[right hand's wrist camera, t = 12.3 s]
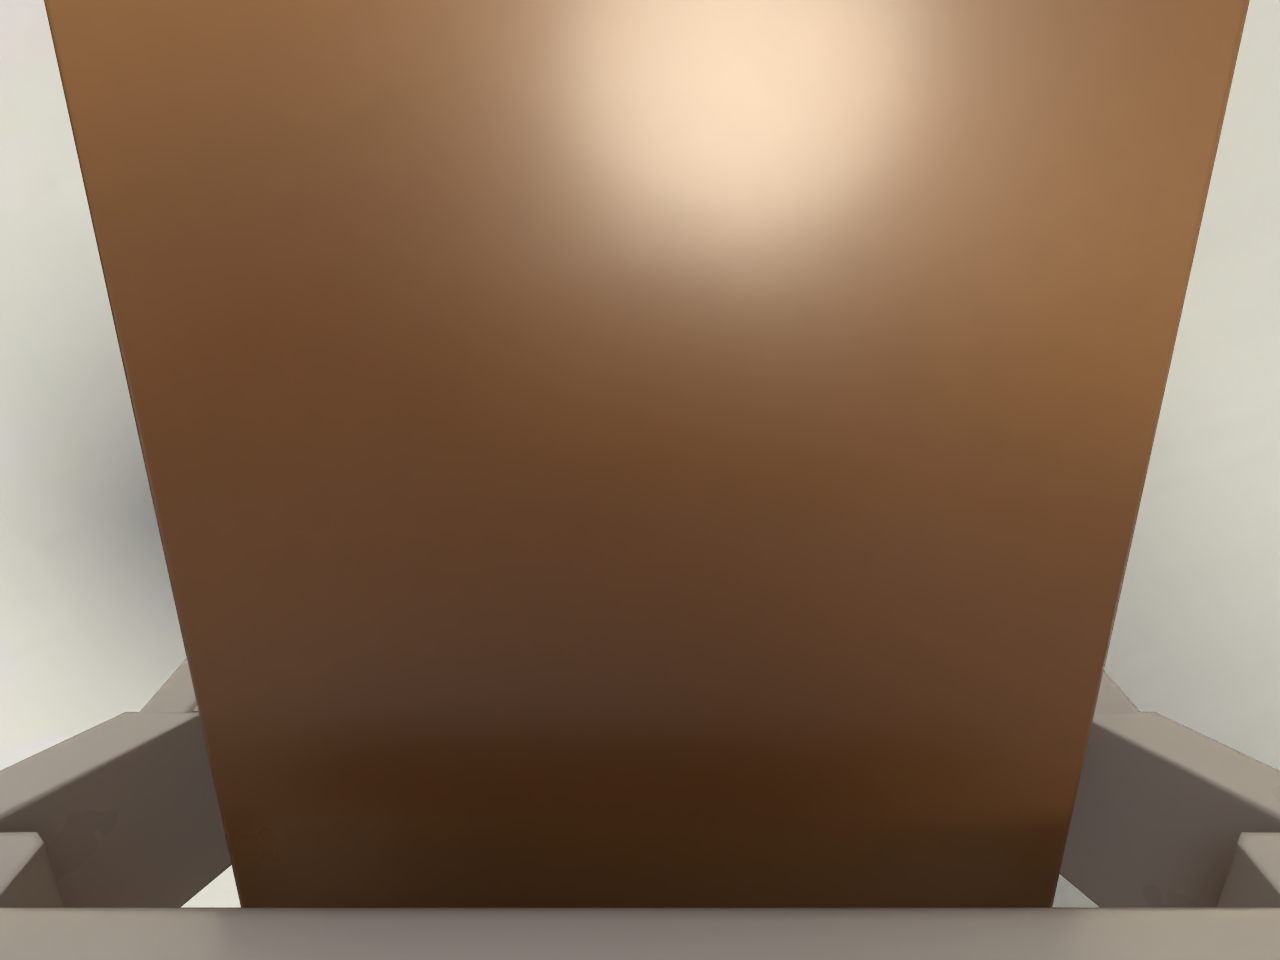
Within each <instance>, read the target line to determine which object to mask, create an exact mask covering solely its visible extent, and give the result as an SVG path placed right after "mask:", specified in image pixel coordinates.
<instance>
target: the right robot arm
mask: <svg viewBox="0 0 1280 960" xmlns="http://www.w3.org/2000/svg"><path fill="white" fill-rule="evenodd" d="M231 865H232V863H231V859H230V854H229V849H228V845H227V840H226V836H225V831H224V826H223V822H222V817H221V812H220V808H219V803H218V799H217V794H216V789H215V785H214V780H213V776H212V771H211V766H210V762H209V757H208V753H207V748H206V743H205V739H204V734H203V730H202V725H201V720H200V716H199V711H198V707H197V702H196V697H195V693H194V688H193V684H192V679H191V674H190V670H189V665H188V661H187V659H186V660H185V661H184V662H183V663H182V664H181V665H180V667H179V668H178V669H177V670H176V671H175V672H174V673H173V675H172V676H171V677H170V678H169V679H168V680H167V681H166V682H165V684H164V685H163V686H162V687H161V688H160V689H159V690H158V692H157V693H156V694H155V695H154V696H153V697H152V698H151V700H150V701H149V702H148V703H147V704H146V705H145V706H144V708H143V709H142V710H141V711H140V712H125V713H123V714H121V715H118V716H116V717H114V718H112V719H110V720H108V721H106V722H103V723H101V724H99V725H97V726H95V727H93V728H91V729H89V730H86V731H84V732H82V733H80V734H78V735H76V736H74V737H71V738H69V739H67V740H65V741H63V742H61V743H59V744H57V745H54V746H52V747H50V748H48V749H46V750H44V751H42V752H39V753H37V754H35V755H33V756H31V757H29V758H27V759H25V760H22V761H20V762H18V763H16V764H14V765H12V766H10V767H7V768H5V769H3V770H1V771H0V960H1280V771H1279V770H1277V769H1274V768H1272V767H1270V766H1268V765H1266V764H1264V763H1262V762H1260V761H1257V760H1255V759H1253V758H1251V757H1249V756H1247V755H1245V754H1243V753H1240V752H1238V751H1236V750H1234V749H1232V748H1230V747H1228V746H1226V745H1223V744H1221V743H1219V742H1217V741H1215V740H1213V739H1211V738H1209V737H1206V736H1204V735H1202V734H1200V733H1198V732H1196V731H1194V730H1192V729H1189V728H1187V727H1185V726H1183V725H1181V724H1179V723H1177V722H1174V721H1172V720H1170V719H1168V718H1166V717H1164V716H1162V715H1160V714H1157V713H1155V712H1140V711H1139V710H1138V709H1137V707H1136V706H1135V705H1134V704H1133V703H1132V702H1131V701H1130V699H1129V698H1128V697H1127V696H1126V695H1125V694H1124V693H1123V691H1122V690H1121V689H1120V688H1119V687H1118V686H1117V685H1116V684H1115V682H1114V681H1113V680H1112V679H1111V678H1110V677H1109V676H1108V674H1107V673H1106V672H1105V671H1103V676H1102V680H1101V685H1100V689H1099V694H1098V699H1097V703H1096V708H1095V712H1094V717H1093V722H1092V726H1091V731H1090V735H1089V740H1088V745H1087V749H1086V754H1085V758H1084V763H1083V767H1082V772H1081V777H1080V781H1079V786H1078V790H1077V795H1076V800H1075V804H1074V809H1073V813H1072V818H1071V823H1070V827H1069V832H1068V836H1067V841H1066V846H1065V850H1064V855H1063V859H1062V864H1061V869H1060V874H1061V875H1062V876H1063V877H1064V878H1066V879H1067V880H1068V881H1069V882H1070V883H1072V884H1073V885H1074V886H1075V887H1076V888H1078V889H1079V890H1080V891H1081V892H1082V893H1084V894H1085V895H1086V896H1087V897H1088V898H1090V899H1091V900H1092V901H1093V902H1094V903H1096V904H1097V905H1098V906H1099V907H1100V908H180V907H181V906H183V905H184V904H185V903H186V902H187V901H189V900H190V899H191V898H192V897H193V896H195V895H196V894H197V893H198V892H199V891H201V890H202V889H203V888H204V887H205V886H207V885H208V884H209V883H210V882H211V881H213V880H214V879H215V878H216V877H217V876H219V875H220V874H221V873H222V872H223V871H225V870H226V869H227V868H228V867H229V866H231Z"/></svg>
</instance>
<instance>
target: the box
mask: <svg viewBox="0 0 1280 960" xmlns="http://www.w3.org/2000/svg"><path fill="white" fill-rule="evenodd" d="M44 2H45V7H46V11H47V16H48V21H49V25H50V30H51V34H52V39H53V44H54V48H55V53H56V57H57V62H58V67H59V71H60V76H61V80H62V85H63V90H64V94H65V99H66V103H67V108H68V113H69V117H70V122H71V126H72V131H73V136H74V140H75V145H76V149H77V154H78V159H79V163H80V168H81V172H82V177H83V182H84V186H85V191H86V195H87V200H88V205H89V209H90V214H91V219H92V223H93V228H94V232H95V237H96V242H97V246H98V251H99V255H100V260H101V265H102V269H103V274H104V278H105V283H106V288H107V292H108V297H109V301H110V306H111V311H112V315H113V320H114V324H115V329H116V334H117V338H118V343H119V347H120V352H121V357H122V361H123V366H124V370H125V375H126V380H127V384H128V389H129V393H130V398H131V403H132V407H133V412H134V417H135V421H136V426H137V430H138V435H139V440H140V444H141V449H142V453H143V458H144V463H145V467H146V472H147V476H148V481H149V486H150V490H151V495H152V499H153V504H154V509H155V513H156V518H157V522H158V527H159V532H160V536H161V541H162V545H163V550H164V555H165V559H166V564H167V568H168V573H169V578H170V582H171V587H172V591H173V596H174V601H175V605H176V610H177V615H178V619H179V624H180V628H181V633H182V638H183V642H184V647H185V651H186V656H187V661H188V665H189V670H190V674H191V679H192V684H193V688H194V693H195V697H196V702H197V707H198V711H199V716H200V720H201V725H202V730H203V734H204V739H205V743H206V748H207V753H208V757H209V762H210V766H211V771H212V776H213V780H214V785H215V789H216V794H217V799H218V803H219V808H220V812H221V817H222V822H223V826H224V831H225V836H226V840H227V845H228V849H229V854H230V859H231V863H232V868H233V872H234V877H235V882H236V886H237V891H238V895H239V900H240V905H241V908H1052V905H1053V901H1054V896H1055V892H1056V887H1057V882H1058V878H1059V873H1060V869H1061V864H1062V859H1063V855H1064V850H1065V846H1066V841H1067V836H1068V832H1069V827H1070V823H1071V818H1072V813H1073V809H1074V804H1075V800H1076V795H1077V790H1078V786H1079V781H1080V777H1081V772H1082V767H1083V763H1084V758H1085V754H1086V749H1087V745H1088V740H1089V735H1090V731H1091V726H1092V722H1093V717H1094V712H1095V708H1096V703H1097V699H1098V694H1099V689H1100V685H1101V680H1102V676H1103V671H1104V666H1105V662H1106V657H1107V653H1108V648H1109V643H1110V639H1111V634H1112V630H1113V625H1114V620H1115V616H1116V611H1117V607H1118V602H1119V598H1120V593H1121V588H1122V584H1123V579H1124V575H1125V570H1126V565H1127V561H1128V556H1129V552H1130V547H1131V542H1132V538H1133V533H1134V529H1135V524H1136V519H1137V515H1138V510H1139V506H1140V501H1141V496H1142V492H1143V487H1144V483H1145V478H1146V473H1147V469H1148V464H1149V460H1150V455H1151V450H1152V446H1153V441H1154V437H1155V432H1156V428H1157V423H1158V418H1159V414H1160V409H1161V405H1162V400H1163V395H1164V391H1165V386H1166V382H1167V377H1168V372H1169V368H1170V363H1171V359H1172V354H1173V349H1174V345H1175V340H1176V336H1177V331H1178V326H1179V322H1180V317H1181V313H1182V308H1183V303H1184V299H1185V294H1186V290H1187V285H1188V281H1189V276H1190V271H1191V267H1192V262H1193V258H1194V253H1195V248H1196V244H1197V239H1198V235H1199V230H1200V225H1201V221H1202V216H1203V212H1204V207H1205V202H1206V198H1207V193H1208V189H1209V184H1210V179H1211V175H1212V170H1213V166H1214V161H1215V156H1216V152H1217V147H1218V143H1219V138H1220V133H1221V129H1222V124H1223V120H1224V115H1225V111H1226V106H1227V101H1228V97H1229V92H1230V88H1231V83H1232V78H1233V74H1234V69H1235V65H1236V60H1237V55H1238V51H1239V46H1240V42H1241V37H1242V32H1243V28H1244V23H1245V19H1246V14H1247V9H1248V5H1249V0H44Z"/></svg>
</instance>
